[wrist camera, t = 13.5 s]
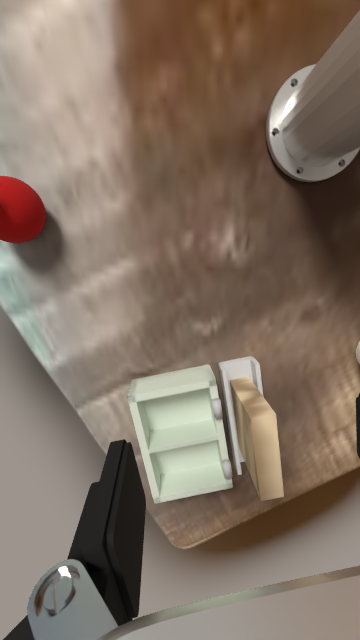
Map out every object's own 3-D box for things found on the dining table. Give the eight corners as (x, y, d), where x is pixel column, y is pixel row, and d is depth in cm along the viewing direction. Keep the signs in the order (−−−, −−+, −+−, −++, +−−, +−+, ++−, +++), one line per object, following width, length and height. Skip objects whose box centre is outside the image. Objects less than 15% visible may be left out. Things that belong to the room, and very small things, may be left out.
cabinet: (252, 356, 40) (268, 373, 34) (264, 454, 45) (280, 485, 39) (131, 379, 40) (126, 401, 34) (155, 476, 44) (154, 511, 38)
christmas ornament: (21, 172, 33) (-39, 137, 23) (66, 215, 34) (28, 199, 25) (-15, 215, 34) (-86, 198, 24) (31, 255, 35) (-18, 255, 25)
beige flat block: (248, 376, 41) (276, 414, 31) (256, 443, 43) (284, 496, 34) (229, 380, 41) (250, 419, 31) (238, 446, 43) (260, 501, 34)
